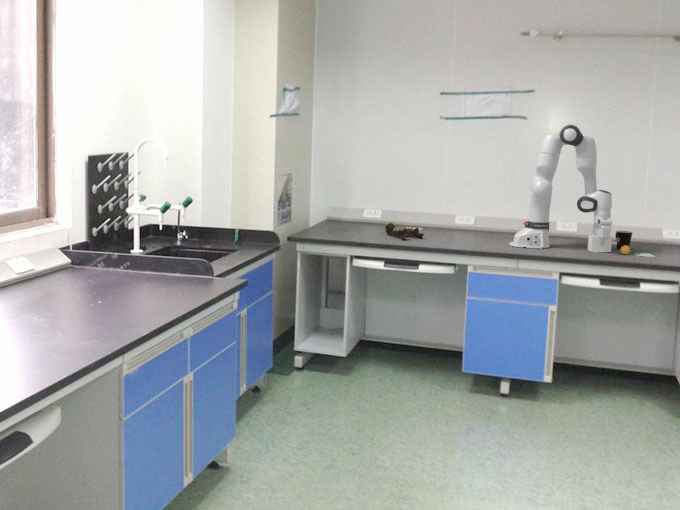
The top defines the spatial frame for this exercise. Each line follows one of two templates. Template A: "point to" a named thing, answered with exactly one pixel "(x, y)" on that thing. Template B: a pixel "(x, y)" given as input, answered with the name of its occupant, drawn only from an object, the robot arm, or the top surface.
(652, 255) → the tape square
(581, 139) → the robot arm
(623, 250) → the ball
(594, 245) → the white rectangular block
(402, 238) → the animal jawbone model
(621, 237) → the coffee mug
